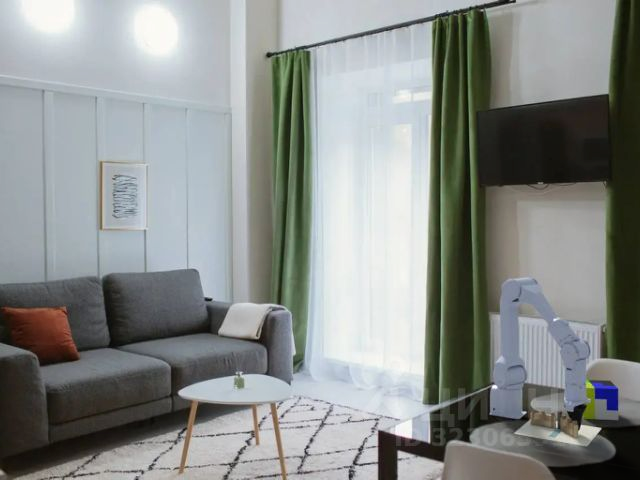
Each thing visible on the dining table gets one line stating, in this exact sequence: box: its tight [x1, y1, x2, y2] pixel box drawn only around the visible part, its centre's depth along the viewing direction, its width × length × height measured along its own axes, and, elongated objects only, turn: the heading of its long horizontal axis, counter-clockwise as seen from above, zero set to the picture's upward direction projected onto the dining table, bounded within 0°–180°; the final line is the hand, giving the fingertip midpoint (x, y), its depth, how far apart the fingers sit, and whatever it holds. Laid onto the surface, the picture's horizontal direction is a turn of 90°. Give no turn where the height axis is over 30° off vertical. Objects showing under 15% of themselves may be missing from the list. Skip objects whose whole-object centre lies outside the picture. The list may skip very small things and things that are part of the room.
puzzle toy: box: [582, 379, 619, 421], centre depth 203 cm, size 10×10×10 cm
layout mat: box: [513, 419, 602, 447], centre depth 189 cm, size 20×18×1 cm
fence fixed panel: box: [529, 408, 563, 429], centre depth 192 cm, size 9×1×5 cm, turn 55°
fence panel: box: [561, 414, 578, 438], centre depth 185 cm, size 7×1×4 cm, turn 11°
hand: (575, 429), depth 186 cm, fingers closed, pressing on fence panel
